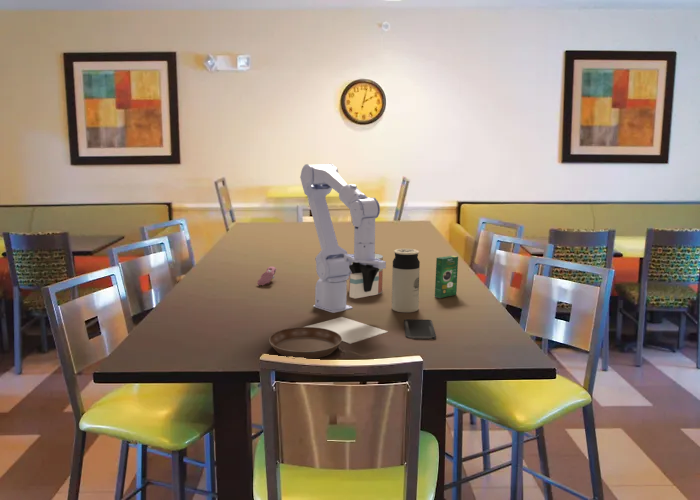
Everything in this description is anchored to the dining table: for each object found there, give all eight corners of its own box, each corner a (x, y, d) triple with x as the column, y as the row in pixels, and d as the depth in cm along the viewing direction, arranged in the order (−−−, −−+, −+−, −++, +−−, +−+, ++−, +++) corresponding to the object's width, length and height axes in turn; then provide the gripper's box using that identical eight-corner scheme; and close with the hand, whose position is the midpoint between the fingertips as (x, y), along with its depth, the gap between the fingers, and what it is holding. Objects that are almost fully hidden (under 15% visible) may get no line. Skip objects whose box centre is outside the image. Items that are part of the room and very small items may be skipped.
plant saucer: (350, 358, 147) (350, 346, 146) (275, 366, 142) (275, 353, 141) (331, 335, 163) (331, 324, 163) (263, 341, 158) (263, 330, 158)
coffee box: (450, 293, 207) (452, 254, 204) (457, 295, 205) (458, 255, 202) (434, 297, 202) (435, 257, 199) (440, 298, 200) (442, 258, 197)
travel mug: (386, 309, 187) (387, 250, 184) (402, 304, 193) (404, 247, 189) (407, 315, 181) (408, 254, 178) (423, 309, 187) (425, 250, 184)
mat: (304, 328, 168) (304, 326, 168) (342, 318, 178) (342, 316, 178) (349, 344, 156) (349, 343, 156) (388, 332, 165) (388, 331, 165)
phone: (405, 336, 160) (403, 319, 175) (405, 340, 160) (403, 322, 175) (436, 336, 160) (431, 319, 175) (436, 341, 160) (431, 323, 175)
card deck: (349, 296, 172) (350, 274, 171) (372, 292, 178) (373, 270, 177) (355, 298, 170) (355, 275, 169) (378, 294, 176) (379, 272, 175)
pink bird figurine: (267, 290, 215) (276, 273, 214) (255, 284, 215) (264, 267, 214) (271, 283, 225) (280, 267, 224) (260, 278, 224) (268, 261, 223)
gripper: (336, 240, 174) (335, 287, 176) (373, 247, 163) (372, 297, 166) (354, 237, 178) (354, 283, 181) (391, 244, 168) (390, 293, 171)
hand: (364, 290), depth 174 cm, fingers closed on card deck, 2 cm apart
